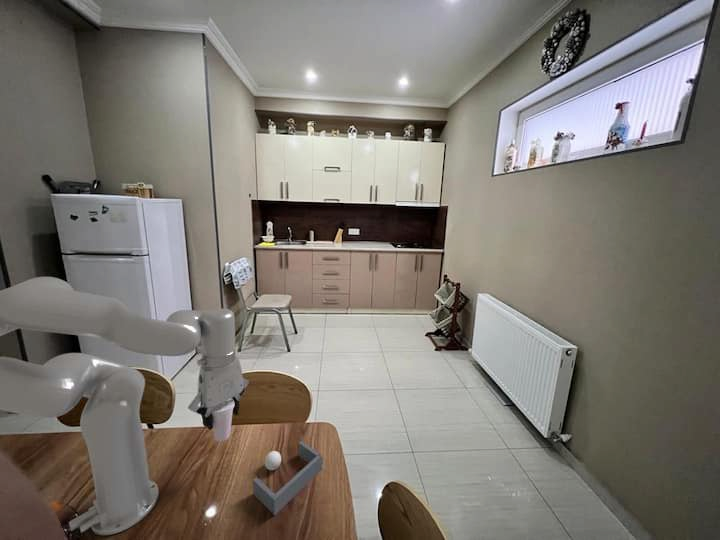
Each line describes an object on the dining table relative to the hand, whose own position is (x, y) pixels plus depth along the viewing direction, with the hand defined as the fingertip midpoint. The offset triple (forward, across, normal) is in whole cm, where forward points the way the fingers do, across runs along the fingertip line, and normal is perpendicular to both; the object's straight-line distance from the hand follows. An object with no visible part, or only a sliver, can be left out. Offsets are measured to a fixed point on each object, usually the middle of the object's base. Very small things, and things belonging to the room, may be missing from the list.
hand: (221, 419), depth 76 cm
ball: (+14, +9, -10) cm, 19 cm away
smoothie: (+5, 0, 0) cm, 5 cm away
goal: (+16, +9, -17) cm, 25 cm away
